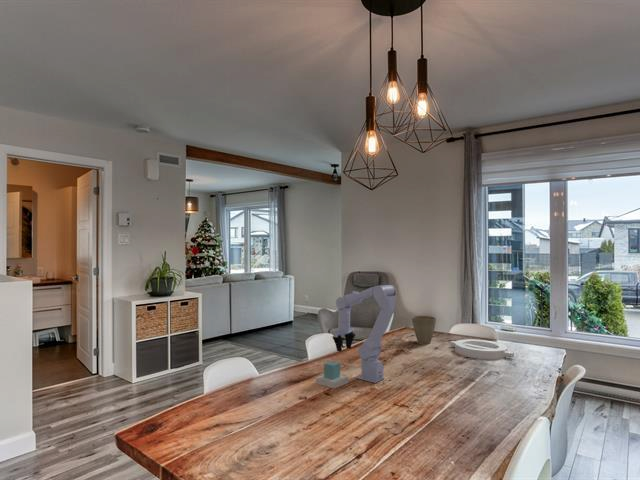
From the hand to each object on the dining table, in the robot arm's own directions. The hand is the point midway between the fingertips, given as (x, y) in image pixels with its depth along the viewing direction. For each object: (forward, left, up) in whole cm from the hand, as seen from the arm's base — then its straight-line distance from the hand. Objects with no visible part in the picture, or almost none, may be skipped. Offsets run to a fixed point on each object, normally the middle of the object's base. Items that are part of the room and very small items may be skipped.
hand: (343, 349), depth 191 cm
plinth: (-7, +18, -10) cm, 22 cm away
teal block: (-7, +18, -7) cm, 21 cm away
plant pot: (-4, -80, -10) cm, 81 cm away
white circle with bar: (-39, -80, -10) cm, 90 cm away
